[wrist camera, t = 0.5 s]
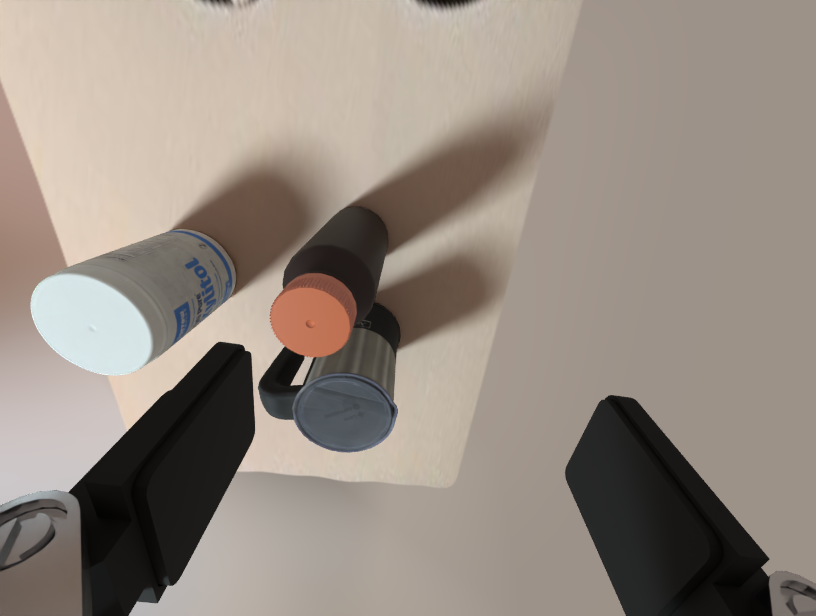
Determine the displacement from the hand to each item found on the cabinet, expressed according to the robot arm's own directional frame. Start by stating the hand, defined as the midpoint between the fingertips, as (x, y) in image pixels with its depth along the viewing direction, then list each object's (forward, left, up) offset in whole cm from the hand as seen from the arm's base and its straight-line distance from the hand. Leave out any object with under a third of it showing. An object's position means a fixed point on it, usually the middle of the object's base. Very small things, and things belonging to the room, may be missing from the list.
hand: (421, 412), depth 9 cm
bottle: (+4, -6, -31) cm, 32 cm away
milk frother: (+20, -4, -31) cm, 37 cm away
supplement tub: (+11, -24, -31) cm, 41 cm away
